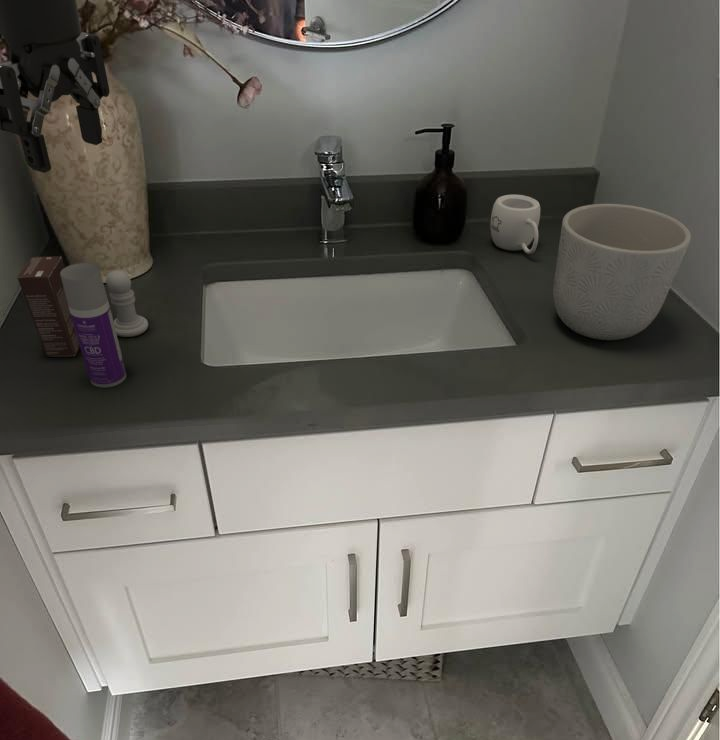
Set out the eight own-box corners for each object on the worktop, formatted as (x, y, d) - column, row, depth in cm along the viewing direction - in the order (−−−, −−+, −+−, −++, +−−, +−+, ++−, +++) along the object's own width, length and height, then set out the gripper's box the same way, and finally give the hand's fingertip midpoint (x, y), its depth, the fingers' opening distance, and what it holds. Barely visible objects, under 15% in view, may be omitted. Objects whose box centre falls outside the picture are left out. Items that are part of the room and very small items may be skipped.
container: (92, 390, 90) (61, 282, 80) (87, 372, 93) (57, 266, 83) (129, 383, 91) (103, 276, 81) (123, 365, 94) (97, 259, 84)
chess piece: (121, 342, 99) (107, 283, 93) (105, 327, 102) (90, 269, 96) (155, 330, 101) (143, 272, 95) (138, 316, 104) (126, 259, 98)
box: (55, 335, 100) (30, 255, 92) (87, 335, 100) (64, 255, 92) (42, 358, 95) (15, 275, 87) (75, 358, 95) (51, 276, 87)
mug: (478, 238, 128) (484, 195, 123) (518, 233, 130) (526, 190, 125) (511, 266, 120) (519, 220, 114) (553, 259, 122) (563, 214, 117)
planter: (565, 358, 98) (592, 255, 87) (526, 301, 110) (545, 205, 100) (677, 351, 100) (716, 249, 89) (626, 296, 112) (655, 201, 102)
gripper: (47, -44, 69) (81, 127, 81) (-65, -18, 60) (-8, 171, 72) (111, -30, 68) (136, 142, 79) (6, -1, 58) (52, 189, 70)
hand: (67, 156), depth 75 cm, fingers open, 8 cm apart
